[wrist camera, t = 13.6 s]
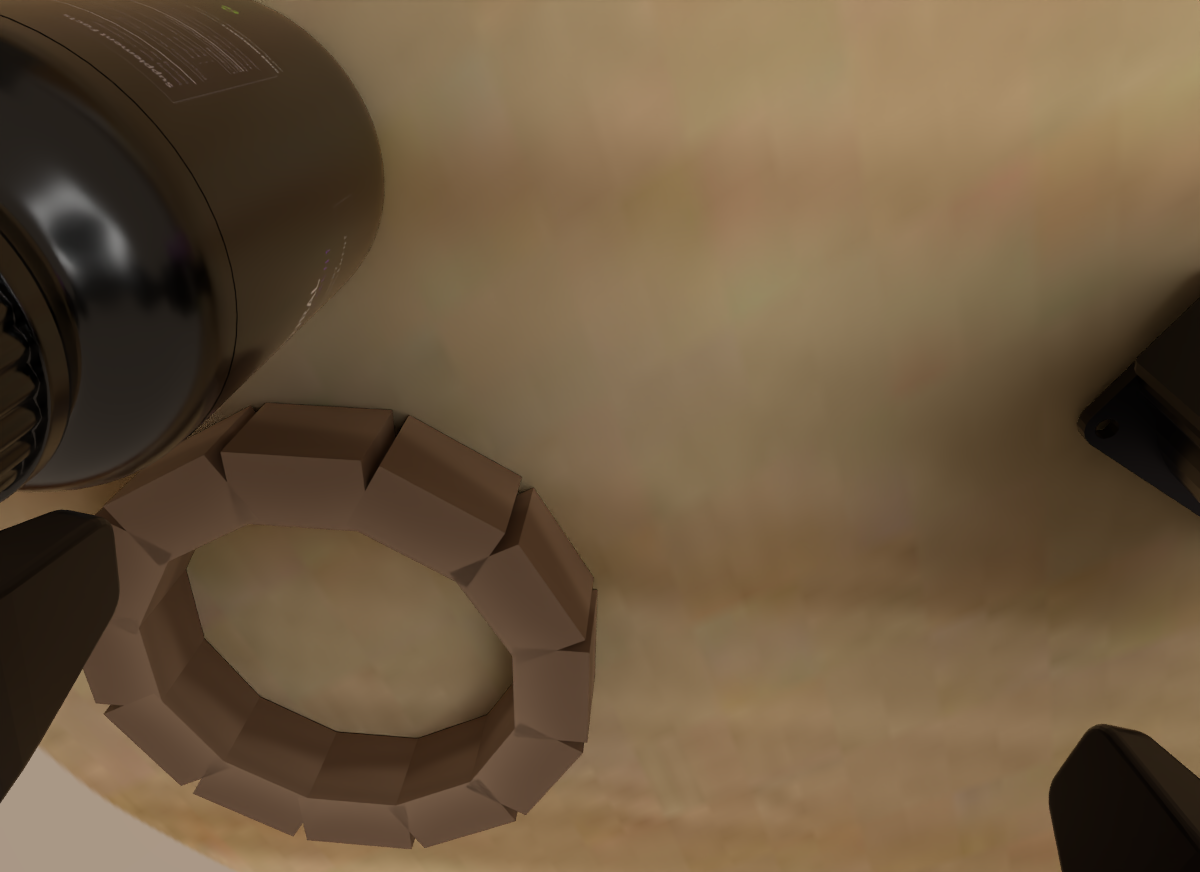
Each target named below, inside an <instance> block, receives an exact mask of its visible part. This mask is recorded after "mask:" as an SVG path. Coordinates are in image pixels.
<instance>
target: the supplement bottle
mask: <svg viewBox="0 0 1200 872" xmlns="http://www.w3.org/2000/svg"><path fill="white" fill-rule="evenodd" d="M383 201H384V170H383V161H382V155H381V150H380V145H379V141H378V138H377V134H376V131H375V128H374V125H373V123H372V120H371V117H370V115H369V113H368V110H367V108H366V106H365V104H364V102H363V100H362V98H361V96H360V95H359V93H358V91H357V89H356V88H355V86H354V84H353V83H352V81H351V80H350V78H349V77H348V76H347V74H346V73H345V71H344V70H343V69H342V67H341V66H340V65H339V64H338V63H337V61H336V60H335V59H334V58H333V56H332V55H331V54H330V53H329V52H328V51H327V50H326V49H325V48H324V47H323V46H322V45H321V44H320V43H319V42H318V41H316V40H315V39H314V38H313V37H312V36H311V35H309V34H308V33H307V32H306V31H305V30H303V29H302V28H301V27H299V26H298V25H297V24H295V23H294V22H292V21H291V20H290V19H288V18H286V17H285V16H283V15H281V14H280V13H278V12H276V11H275V10H273V9H270V8H268V7H266V6H264V5H262V4H260V3H258V2H255V1H252V0H0V502H2V501H3V500H5V499H6V498H8V497H9V496H11V495H12V494H13V493H14V492H58V491H67V490H76V489H82V488H87V487H92V486H96V485H101V484H105V483H109V482H112V481H115V480H118V479H121V478H124V477H126V476H128V475H131V474H133V473H135V472H137V471H139V470H141V469H144V468H146V467H148V466H149V465H151V464H153V463H154V462H156V461H157V460H159V459H161V458H162V457H163V456H165V455H166V454H167V453H169V452H170V451H171V450H172V449H174V448H175V447H176V446H177V445H179V444H180V443H181V442H182V441H183V440H185V439H186V438H187V437H188V436H190V435H191V434H192V433H193V432H194V431H195V430H196V429H197V428H198V427H199V426H200V425H201V424H202V423H203V422H204V421H205V420H207V419H208V418H209V417H210V416H211V415H212V414H213V413H214V412H215V411H216V410H217V409H218V408H219V407H220V406H221V405H222V404H223V403H224V402H225V401H226V400H227V399H228V398H229V397H230V396H231V395H232V394H233V393H234V392H235V391H236V390H237V389H238V388H239V387H240V386H241V385H242V384H243V383H245V382H246V381H247V380H248V379H249V378H250V377H251V376H252V375H253V374H254V373H255V372H256V371H257V370H258V369H259V368H260V367H261V366H262V365H263V364H264V363H265V362H266V361H267V360H268V359H269V358H270V357H271V356H272V355H273V354H274V353H275V352H276V351H277V350H278V349H279V348H280V347H281V346H282V345H283V344H285V343H286V342H287V341H288V340H289V339H290V338H291V337H292V336H293V335H294V334H295V333H296V332H297V331H298V330H299V329H300V328H301V327H302V326H303V325H304V324H305V323H306V322H307V321H308V320H309V319H310V318H311V317H312V316H313V315H314V314H315V313H316V312H317V311H318V310H319V309H320V308H321V307H322V306H324V305H325V304H326V303H327V302H328V301H329V300H330V299H331V298H332V297H333V296H334V295H335V293H336V292H337V291H338V290H339V289H340V288H341V287H342V286H343V285H344V284H345V283H346V282H347V281H348V280H349V279H350V278H351V277H352V275H353V274H354V273H355V271H356V270H357V269H358V267H359V266H360V265H361V263H362V262H363V260H364V258H365V257H366V255H367V253H368V252H369V250H370V248H371V246H372V243H373V241H374V239H375V236H376V233H377V230H378V227H379V224H380V219H381V215H382V210H383Z"/></svg>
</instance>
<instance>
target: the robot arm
mask: <svg viewBox="0 0 1200 872" xmlns="http://www.w3.org/2000/svg"><path fill="white" fill-rule="evenodd" d="M1107 419H1111V422H1110V424H1109V425H1108V426H1107V427H1105V428H1104V429H1102V430H1096V427H1097V425H1098V424H1099V423H1100V422H1102V421H1104V420H1107ZM1077 427H1078V431H1079V432H1080V433H1081V435H1082V436H1083V437H1084V438H1085V439H1086V440H1087V441H1088V442H1089V444H1090V445H1092V446H1093V447H1095V448H1097V449H1098V450H1100V451H1101V452H1103V453H1104V454H1106V455H1107V456H1109V457H1110V458H1112V459H1113V460H1115V461H1116V462H1118V463H1119V464H1121V465H1122V466H1124V467H1125V468H1127V469H1128V470H1130V471H1131V472H1133V473H1134V474H1136V475H1138V476H1139V477H1141V478H1142V479H1144V480H1145V481H1147V482H1148V483H1150V484H1151V485H1153V486H1154V487H1156V488H1157V489H1159V490H1160V491H1162V492H1163V493H1165V494H1166V495H1168V496H1169V497H1171V498H1172V499H1174V500H1175V501H1177V502H1179V503H1180V504H1182V505H1183V506H1185V507H1186V508H1188V509H1189V510H1191V511H1192V512H1194V513H1195V514H1197V515H1198V516H1200V298H1199V299H1198V300H1197V301H1196V302H1195V303H1194V304H1193V305H1192V306H1191V307H1190V308H1188V309H1187V310H1186V311H1185V312H1184V313H1183V314H1182V315H1181V316H1180V317H1179V318H1178V319H1177V320H1176V321H1175V322H1174V323H1173V324H1172V325H1171V326H1170V327H1169V328H1167V329H1166V330H1165V331H1164V332H1163V333H1162V334H1161V335H1160V336H1159V337H1158V338H1157V339H1156V340H1155V341H1154V342H1153V343H1152V344H1151V345H1150V346H1149V347H1148V348H1146V349H1145V350H1144V351H1143V352H1142V353H1141V354H1140V355H1139V356H1138V357H1137V359H1136V361H1135V362H1134V363H1133V364H1132V365H1131V366H1130V367H1129V368H1128V369H1127V370H1126V371H1125V372H1124V373H1123V374H1122V375H1121V376H1119V377H1118V378H1117V379H1116V380H1115V381H1114V382H1113V383H1112V384H1111V385H1110V386H1109V387H1108V388H1107V389H1106V390H1105V391H1104V392H1103V393H1102V394H1101V395H1099V396H1098V397H1097V398H1096V399H1095V400H1094V401H1093V402H1092V403H1091V404H1090V405H1089V406H1088V407H1087V408H1086V409H1085V410H1084V411H1083V412H1082V414H1081V415H1080V416H1079V418H1078V422H1077ZM119 594H120V583H119V574H118V565H117V555H116V546H115V536H114V531H113V527H112V526H111V524H110V522H109V521H108V520H106V519H104V518H103V517H100V516H95V515H90V514H85V513H80V512H75V511H71V510H56V511H53V512H49V513H47V514H44V515H41V516H39V517H36V518H33V519H31V520H28V521H25V522H23V523H20V524H17V525H14V526H12V527H9V528H6V529H4V530H1V531H0V803H1V801H2V800H3V799H4V797H5V796H6V794H7V793H8V791H9V790H10V788H11V787H12V786H13V784H14V783H15V781H16V780H17V778H18V777H19V775H20V774H21V772H22V771H23V769H24V768H25V766H26V765H27V763H28V761H29V760H30V758H31V757H32V755H33V753H34V752H35V750H36V748H37V747H38V745H39V744H40V742H41V740H42V738H43V737H44V735H45V733H46V731H47V730H48V728H49V726H50V725H51V723H52V721H53V719H54V718H55V716H56V714H57V712H58V711H59V709H60V707H61V705H62V704H63V702H64V700H65V698H66V697H67V695H68V693H69V691H70V690H71V688H72V686H73V685H74V683H75V681H76V679H77V678H78V676H79V674H80V672H81V671H82V669H83V667H84V665H85V664H86V662H87V660H88V658H89V657H90V655H91V653H92V652H93V650H94V648H95V646H96V645H97V643H98V641H99V639H100V638H101V636H102V634H103V632H104V631H105V629H106V627H107V625H108V624H109V622H110V620H111V618H112V616H113V615H114V612H115V610H116V607H117V604H118V600H119ZM1049 809H1050V814H1051V819H1052V825H1053V830H1054V835H1055V840H1056V845H1057V850H1058V855H1059V860H1060V865H1061V870H1062V872H1200V779H1199V778H1198V777H1197V776H1196V775H1195V774H1193V773H1192V772H1191V771H1190V770H1189V769H1188V768H1186V767H1185V766H1184V765H1183V764H1182V763H1180V762H1179V761H1178V760H1177V759H1176V758H1175V757H1173V756H1172V755H1171V754H1170V753H1169V752H1167V751H1166V750H1165V749H1164V748H1163V747H1161V746H1160V745H1159V744H1158V743H1157V742H1156V741H1154V740H1153V739H1152V738H1151V737H1149V736H1148V735H1146V734H1144V733H1142V732H1139V731H1136V730H1131V729H1126V728H1122V727H1117V726H1112V725H1107V724H1098V725H1095V726H1093V727H1092V728H1090V729H1088V730H1087V732H1086V733H1085V734H1084V735H1083V737H1082V738H1081V740H1080V741H1079V742H1078V744H1077V745H1076V747H1075V748H1074V749H1073V751H1072V752H1071V754H1070V755H1069V757H1068V758H1067V759H1066V761H1065V762H1064V764H1063V765H1062V766H1061V768H1060V769H1059V771H1058V772H1057V774H1056V775H1055V777H1054V778H1053V780H1052V783H1051V786H1050V791H1049Z"/></svg>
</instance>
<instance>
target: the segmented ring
mask: <svg viewBox="0 0 1200 872" xmlns="http://www.w3.org/2000/svg"><path fill="white" fill-rule="evenodd" d="M521 478H522V477H521V476H519V475H517V474H515V473H513V472H512V471H510V470H508V469H506V468H504V467H502V466H501V465H499V464H497V463H495V462H493V461H492V460H490V459H488V458H486V457H484V456H482V455H481V454H479V453H477V452H475V451H473V450H472V449H470V448H468V447H466V446H464V445H463V444H461V443H459V442H457V441H455V440H453V439H452V438H450V437H448V436H446V435H444V434H443V433H441V432H439V431H437V430H435V429H433V428H432V427H430V426H428V425H426V424H424V423H423V422H421V421H419V420H417V419H415V418H413V417H412V416H410V415H409V416H408V418H407V420H406V421H405V423H404V425H403V426H402V428H401V430H400V432H399V433H398V435H397V437H396V438H395V430H394V421H393V411H392V410H380V409H363V408H346V407H329V406H313V405H296V404H279V403H265V404H264V405H263V406H262V407H261V408H260V409H259V411H258V412H257V413H256V412H255V411H254V410H253V408H252V407H251V406H249V407H247V408H245V409H243V410H241V411H239V412H237V413H235V414H234V415H232V416H230V417H228V418H226V419H224V420H222V421H220V422H218V423H216V424H214V425H212V426H211V427H209V428H207V429H205V430H203V431H201V432H199V433H197V434H195V435H193V436H191V437H189V438H188V439H186V440H184V441H182V442H181V443H180V444H179V445H177V446H176V447H175V448H174V449H172V450H171V451H170V452H169V453H167V454H166V455H165V456H163V457H162V458H161V459H159V460H157V461H156V462H154V463H153V464H151V465H149V466H148V467H146V468H144V469H141V470H140V471H139V472H138V473H137V474H136V475H135V476H134V477H133V478H132V479H131V480H130V481H129V482H128V483H127V484H126V485H125V486H124V487H123V488H122V489H121V490H120V491H118V492H117V493H116V494H115V495H114V496H113V497H112V498H111V499H110V500H109V501H108V502H107V503H106V504H105V505H104V506H103V508H102V509H101V510H100V511H99V512H98V513H97V514H96V515H95V516H100V517H103V518H104V519H106V520H108V521H109V522H110V524H111V526H112V527H113V531H114V536H115V546H116V555H117V565H118V574H119V583H120V594H119V600H118V604H117V607H116V610H115V612H114V615H113V616H112V618H111V620H110V622H109V624H108V625H107V627H106V629H105V631H104V632H103V634H102V636H101V638H100V639H99V641H98V643H97V645H96V646H95V648H94V650H93V652H92V653H91V655H90V657H89V658H88V660H87V662H86V664H85V665H84V667H83V670H84V673H85V675H86V678H87V681H88V683H89V686H90V689H91V692H92V694H93V697H94V700H95V702H96V703H99V704H111V705H110V706H109V708H108V709H107V710H106V711H105V713H104V715H105V716H106V717H107V718H108V719H109V720H110V721H111V722H113V723H114V724H115V725H116V726H117V727H118V728H119V729H120V730H121V731H122V732H123V733H124V734H125V735H127V736H128V737H129V738H130V739H131V740H132V741H133V742H134V743H135V744H136V745H137V746H138V747H140V748H141V749H142V750H143V751H144V752H145V753H146V754H147V755H148V756H149V757H150V758H151V759H152V760H154V761H155V762H156V763H157V764H158V765H159V766H160V767H161V768H162V769H163V770H164V771H165V772H166V773H168V774H169V775H170V776H171V777H172V778H173V779H174V780H175V781H176V782H177V783H178V784H179V785H181V786H182V785H185V784H188V783H190V782H193V781H196V780H199V779H201V778H202V779H201V780H200V782H199V784H198V786H197V787H196V789H195V791H194V793H193V794H195V795H198V796H200V797H202V798H205V799H207V800H209V801H212V802H214V803H216V804H219V805H221V806H223V807H226V808H228V809H230V810H233V811H235V812H237V813H240V814H242V815H244V816H247V817H249V818H251V819H254V820H256V821H258V822H261V823H263V824H265V825H268V826H270V827H272V828H275V829H277V830H279V831H282V832H284V833H286V834H289V835H291V836H294V835H295V833H296V832H297V831H298V829H299V828H300V826H301V825H302V823H303V824H304V828H305V833H306V837H307V840H312V841H324V842H335V843H347V844H358V845H369V846H381V847H392V848H403V849H412V846H413V843H414V839H415V838H416V839H417V840H418V841H419V842H420V844H421V845H422V846H423V847H424V848H427V847H430V846H433V845H437V844H440V843H444V842H447V841H450V840H454V839H457V838H460V837H464V836H467V835H470V834H474V833H477V832H481V831H484V830H487V829H491V828H494V827H497V826H501V825H504V824H507V823H511V822H514V821H516V816H517V811H518V812H520V813H522V814H524V815H526V814H527V813H528V812H529V811H530V810H531V809H532V808H533V807H534V806H535V804H536V803H537V802H538V801H539V800H540V799H541V798H542V797H543V796H544V795H545V794H546V792H547V791H548V790H549V789H550V788H551V787H552V786H553V785H554V784H555V783H556V782H557V780H558V779H559V778H560V777H561V776H562V775H563V774H564V773H565V772H566V771H567V770H568V768H569V767H570V766H571V765H572V764H573V763H574V762H575V761H576V760H577V759H578V758H579V757H580V755H581V754H582V753H583V748H584V742H587V740H588V731H589V722H590V714H591V705H592V696H593V687H594V678H595V651H596V618H597V590H592V587H593V579H594V577H593V576H592V574H591V573H590V571H589V570H588V569H587V567H586V566H585V564H584V563H583V561H582V560H581V558H580V557H579V555H578V554H577V552H576V551H575V549H574V548H573V546H572V545H571V543H570V542H569V540H568V539H567V537H566V536H565V534H564V533H563V531H562V530H561V528H560V527H559V525H558V524H557V522H556V521H555V519H554V518H553V516H552V515H551V513H550V512H549V510H548V509H547V507H546V506H545V504H544V503H543V501H542V500H541V498H540V497H539V495H538V494H537V492H536V491H535V489H534V488H532V489H530V490H527V491H525V492H523V493H520V494H518V495H517V492H518V488H519V485H520V482H521ZM248 524H257V525H272V526H287V527H302V528H317V529H331V530H346V531H358V532H360V533H362V534H364V535H366V536H368V537H370V538H372V539H374V540H375V541H377V542H379V543H381V544H383V545H385V546H387V547H389V548H391V549H393V550H395V551H397V552H399V553H401V554H403V555H405V556H407V557H409V558H411V559H412V560H414V561H416V562H418V563H420V564H422V565H424V566H426V567H428V568H430V569H432V570H434V571H436V572H438V573H440V574H442V575H444V576H446V577H448V578H450V579H451V580H453V581H455V582H457V584H458V585H459V586H460V588H461V589H462V590H463V592H464V593H465V594H466V596H467V597H468V598H469V600H470V601H471V602H472V604H473V605H474V606H475V608H476V609H477V610H478V611H479V613H480V614H481V615H482V617H483V618H484V619H485V621H486V622H487V623H488V625H489V626H490V627H491V629H492V630H493V631H494V633H495V634H496V635H497V637H498V638H499V639H500V640H501V642H502V643H503V644H504V646H505V647H506V648H507V650H508V651H509V652H510V654H511V655H512V661H513V683H512V685H511V686H510V687H509V688H508V690H507V691H506V692H505V693H504V695H503V696H502V697H501V698H500V700H499V701H498V702H497V703H496V705H495V706H494V707H493V708H492V710H491V711H490V712H489V713H488V715H486V716H483V717H480V718H477V719H474V720H471V721H468V722H465V723H462V724H460V725H457V726H454V727H451V728H448V729H445V730H442V731H439V732H436V733H433V734H430V735H428V736H425V737H422V738H419V739H414V738H401V737H389V736H376V735H364V734H352V733H339V732H335V731H333V730H331V729H328V728H326V727H324V726H322V725H320V724H317V723H315V722H313V721H311V720H309V719H307V718H304V717H302V716H300V715H298V714H296V713H294V712H291V711H289V710H287V709H285V708H283V707H280V706H278V705H276V704H274V703H272V702H270V701H267V700H265V699H263V698H261V697H259V696H258V695H257V693H256V692H255V691H254V690H253V689H252V688H251V687H250V686H249V685H248V684H247V683H246V682H245V681H244V680H243V679H242V678H241V677H240V676H239V675H238V674H237V673H236V672H235V670H234V669H233V668H232V667H231V666H230V665H229V664H228V663H227V662H226V661H225V660H224V659H223V658H222V657H221V656H220V655H219V654H218V653H217V652H216V651H215V650H214V649H213V647H212V646H211V645H210V644H209V643H208V642H207V641H206V640H205V639H204V636H203V632H202V628H201V624H200V621H199V617H198V613H197V610H196V606H195V602H194V598H193V595H192V591H191V587H190V583H189V580H188V576H187V572H186V568H187V566H188V564H189V561H190V559H191V557H192V555H193V553H194V550H195V549H196V548H198V547H201V546H203V545H205V544H207V543H209V542H211V541H213V540H216V539H218V538H220V537H222V536H224V535H226V534H228V533H231V532H233V531H235V530H237V529H239V528H241V527H243V526H245V525H248Z"/></svg>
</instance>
